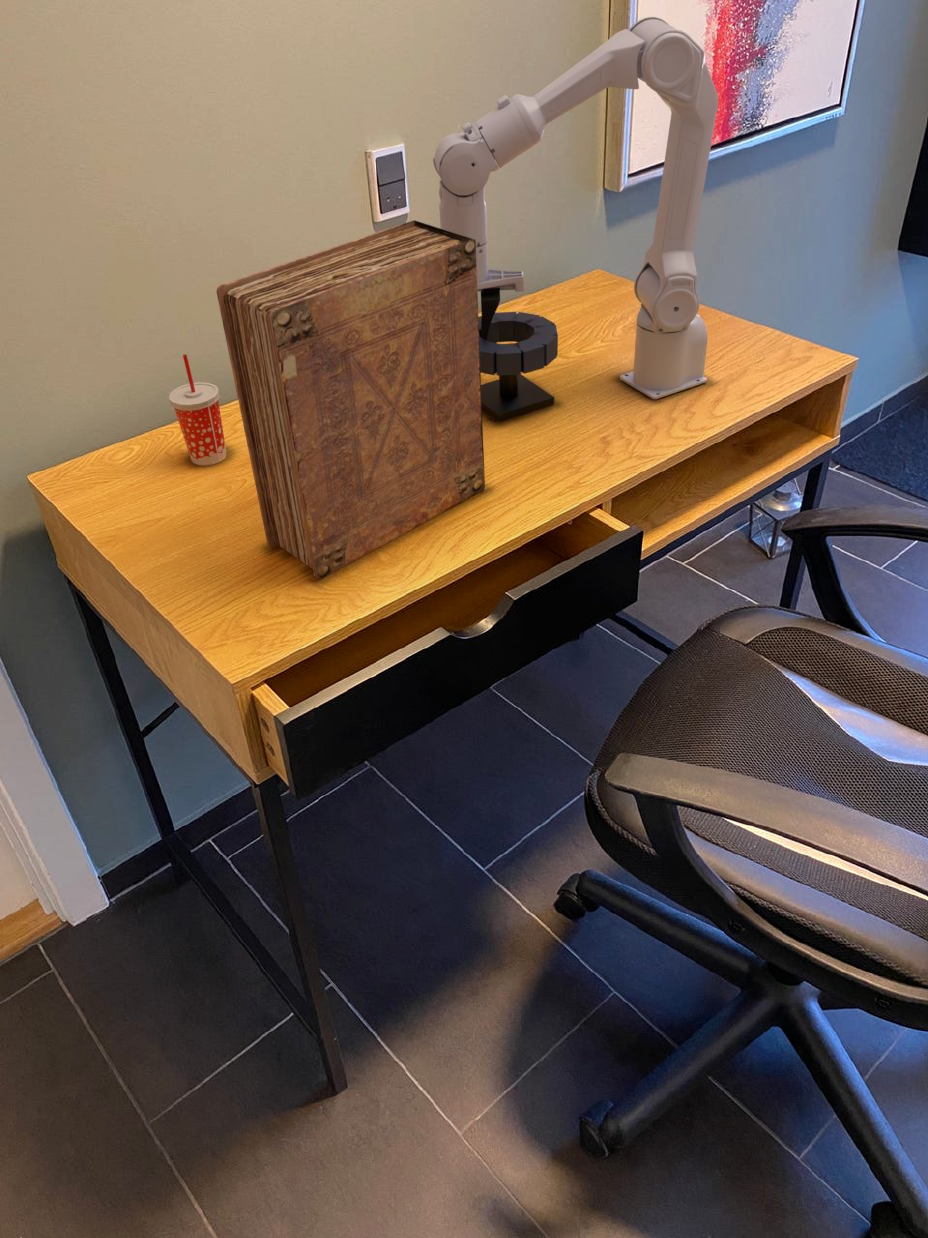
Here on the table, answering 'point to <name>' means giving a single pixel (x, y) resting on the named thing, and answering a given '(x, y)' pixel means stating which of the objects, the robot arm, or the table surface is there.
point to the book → (359, 389)
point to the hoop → (517, 344)
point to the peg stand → (513, 397)
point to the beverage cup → (200, 420)
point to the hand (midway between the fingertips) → (469, 344)
